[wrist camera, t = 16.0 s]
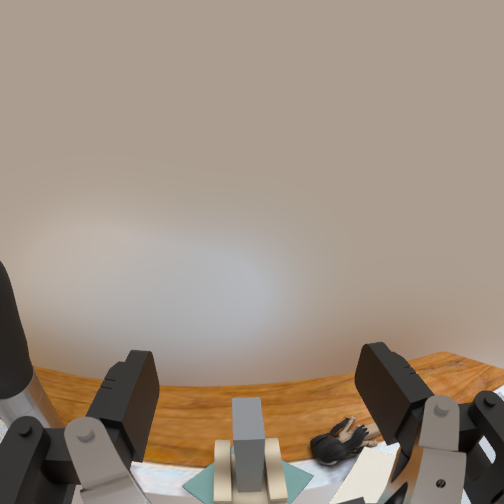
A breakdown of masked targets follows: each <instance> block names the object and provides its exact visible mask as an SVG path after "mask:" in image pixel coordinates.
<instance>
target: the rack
mask: <svg viewBox="0 0 504 504" xmlns="http://www.w3.org/2000/svg"><path fill="white" fill-rule="evenodd" d="M287 500H288V494H287V488H286V483H285V477H284V471H283V466H282V460H281V454H280V448H279V443H278V438H270V439H265V452H264V465H263V478H262V490H261V492H241V493H238V487H237V477H236V467H235V456H234V454H231V444H230V440H215V461H214V503H215V504H287Z"/></svg>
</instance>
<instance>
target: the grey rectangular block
mask: <svg viewBox="0 0 504 504" xmlns="http://www.w3.org/2000/svg"><path fill="white" fill-rule="evenodd" d="M232 408H233V444H234V456H235V467H236V477H237V487H238V493H241V492H261V490H262V478H263V465H264V452H265V432H264V424H263V416H262V409H261V401H260V397H251V398H232Z"/></svg>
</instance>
